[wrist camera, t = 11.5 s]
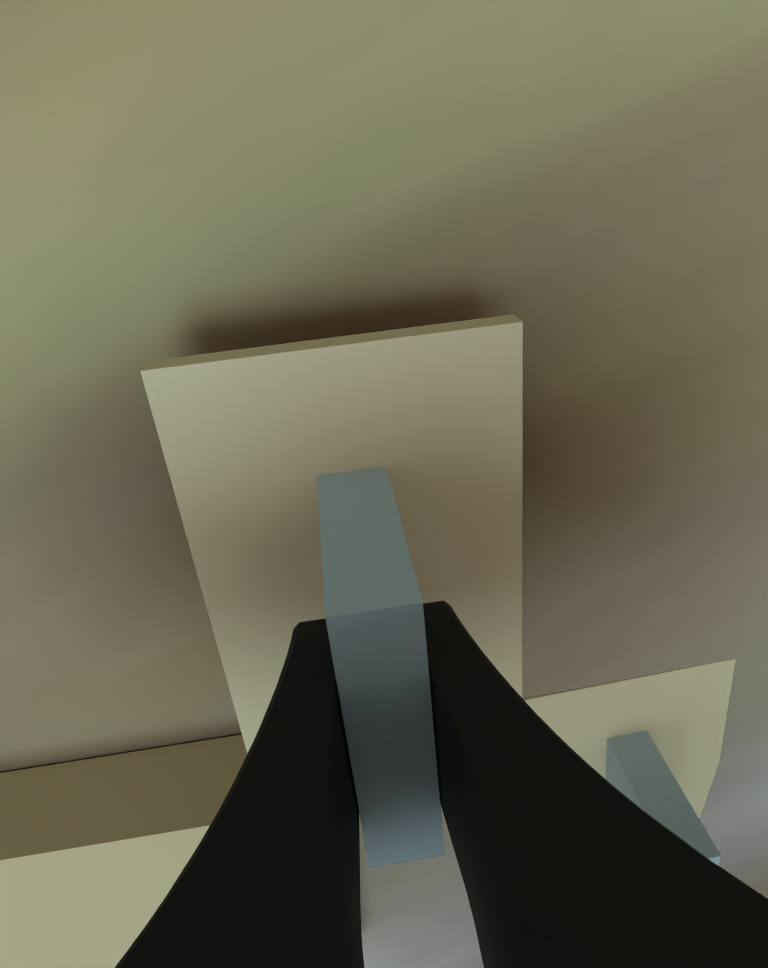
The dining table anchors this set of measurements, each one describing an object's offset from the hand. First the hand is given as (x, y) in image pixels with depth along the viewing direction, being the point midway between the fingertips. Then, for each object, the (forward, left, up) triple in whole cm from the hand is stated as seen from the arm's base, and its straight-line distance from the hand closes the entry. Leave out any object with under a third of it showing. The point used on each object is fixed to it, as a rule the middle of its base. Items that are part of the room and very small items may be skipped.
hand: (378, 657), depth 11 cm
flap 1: (0, 0, -2) cm, 2 cm away
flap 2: (-11, -7, -5) cm, 14 cm away
